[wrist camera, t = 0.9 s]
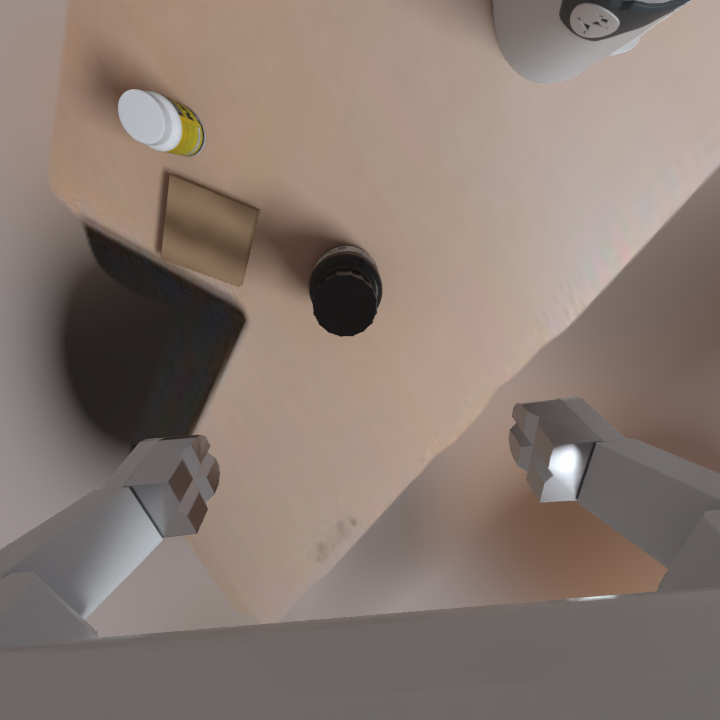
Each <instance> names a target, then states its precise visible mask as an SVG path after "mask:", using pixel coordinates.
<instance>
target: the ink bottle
mask: <svg viewBox="0 0 720 720" xmlns="http://www.w3.org/2000/svg"><path fill="white" fill-rule="evenodd" d="M309 293H310V298H311V301H312V304H313V310H314V312H313V313H314V316H315V317H316V319H317V321H318V322H319V325H320V326H322V327H323V328H324V329H325V330H327V332H329V333H332V334H335V335H338V336H341V337H342V336H354V335H356V334H358V333H360V332H363V331H365V329H366V328H367V327H368V326H369V325H370V324H372V323H373V319H374V317H375V315H376V313H377V308H378V306H379V304H380V302H381V298H382V282H381V278H380V275H379V272H378V269H377V266H376V264H375V262H374V260H373V258H372V257H371V256H370V255H369V254H368V253H367V252H365V251H364V250H362V249H361V248H358V247H355V246H349V245H344V246H338V247H335V248H332V249H330V250H329V251H327V252H326V253H325V254H323V255H322V256H321V258H320V259H319V260H318V262H317V264H316V266H315V268H314V270H313V272H312V275H311V278H310V283H309Z"/></svg>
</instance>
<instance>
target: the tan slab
mask: <svg viewBox="0 0 720 720" xmlns="http://www.w3.org/2000/svg"><path fill="white" fill-rule="evenodd" d="M259 211H260V210H259V209H257V208H255V207H252V206H250V205H247V204H245V203H242V202H240V201H238V200H235V199H233V198H230V197H228V196H225V195H223V194H221V193H218V192H216V191H213V190H211V189H209V188H206V187H204V186H201V185H199V184H196V183H194V182H192V181H189V180H187V179H184V178H182V177H179V176H177V175H170V177H169V187H168V196H167V205H166V215H165V224H164V233H163V242H162V252H161V259H163V260H165V261H168V262H171V263H174V264H177V265H179V266H182V267H185V268H188V269H190V270H193V271H196V272H199V273H202V274H204V275H207V276H210V277H213V278H216V279H218V280H221V281H224V282H227V283H229V284H232V285H235V286H238V287H240V286H241V285H242V284H243V281H244V276H245V272H246V268H247V263H248V259H249V255H250V250H251V246H252V242H253V237H254V233H255V229H256V224H257V220H258V216H259Z"/></svg>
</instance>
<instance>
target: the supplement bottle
mask: <svg viewBox="0 0 720 720" xmlns="http://www.w3.org/2000/svg"><path fill="white" fill-rule="evenodd" d="M118 114H119V118H120V121H121V123H122V125H123V127H124V129H125V130H126V131H127V133H128V134H129V135H130V136H131V137H133V138H134V139H135V140H137V141H139V142H141V143H144V144H145V145H147V146H148V147H150V148H152V149H154V150H157V151H161V152H167V153H172V154H177V155H182V156H195V155H197V154H198V153H200V152H201V151H202V149H203V147H204V145H205V138H206V136H205V130H204V126H203V124H202V122H201V120H200V119H199V117H198V116H197V115H196V114H195V113H194V112H193V111H192V110H191V109H189V108H187V107H186V106H184V105H181V104H179V103H177V102H175V101H173V100H171V99H169V98H167V97H165V96H163V95H161V94H159V93H156V92H152V91H142V90H138V89H131V90H127V91H126V92H124V93H123V94H122V95H121V97H120V99H119V102H118Z"/></svg>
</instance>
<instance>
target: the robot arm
mask: <svg viewBox="0 0 720 720" xmlns="http://www.w3.org/2000/svg"><path fill="white" fill-rule="evenodd" d="M690 1H691V0H493V16H494V25H495V31H496V35H497V39H498V43H499V46H500V49H501V51H502V53H503V55H504V57H505V59H506V61H507V62H508V63H509V65H510V66H511V67H512V68H513V69H514V71H516V72H517V73H518V74H519V75H521V76H522V77H523V78H525V79H527V80H530V81H532V82H536V83H542V84H551V83H558V82H561V81H565V80H567V79H570V78H572V77H574V76H576V75H578V74H580V73H582V72H584V71H585V70H587V69H588V68H590V67H591V66H593V65H594V64H596V63H597V62H599V61H601V60H602V59H604V58H606V57H610V56H614V55H618V54H621V53H624V52H627V51H629V50H631V49H632V48H633V47H635V46H636V44H637V43H638V42H639V40H640V38H641V36H642V34H643V33H645V32H646V31H648V30H649V29H651V28H652V27H654V26H655V25H657V24H658V23H660V22H661V21H662V20H664V19H665V18H667V17H668V16H670V15H671V14H673V13H674V12H675V11H677V10H678V9H679V8H681V7H683V6H684V5H686V4H687V3H688V2H690ZM512 417H513V418H514V420H515V421H516V424H515V425H514V426H513V427H512V428H511V429H510V433H509V444H510V450H511V453H512V456H513V458H514V460H515V462H516V463H517V465H518V466H519V467H521V468H523V469H524V470H526V471H527V472H528V473H527V478H526V480H527V482H528V483H529V485H530V487H531V488H532V490H533V492H534V493H535V495H536V497H537V498H538V500H539V502H554V501H570V500H577V502H578V503H579V504H580V505H582V506H583V507H584V508H586V509H587V510H589V511H590V512H591V513H593V514H594V515H595V516H597V517H598V518H600V519H601V520H602V521H604V522H605V523H606V524H608V525H609V526H610V527H612V528H613V529H614V530H616V531H617V532H619V533H620V534H622V535H623V536H624V537H625V538H627V539H628V540H630V541H631V542H632V543H634V544H635V545H636V546H638V547H639V548H640V549H642V550H643V551H645V552H646V553H648V554H649V555H650V556H651V557H653V558H654V559H656V560H657V561H658V562H660V563H661V564H662V565H664V566H665V567H666V568H668V570H667V572H666V574H665V575H664V577H663V579H662V580H661V582H660V583H659V585H658V589H657V592H645V593H635V594H634V593H633V594H621V595H610V596H597V597H585V598H574V599H561V600H549V601H537V602H525V603H512V604H500V605H488V606H476V607H464V608H451V609H439V610H427V611H415V612H403V613H390V614H378V615H366V616H355V617H343V618H331V619H320V620H307V621H295V622H283V623H271V624H259V625H247V626H235V627H223V628H211V629H199V630H187V631H175V632H163V633H151V634H139V635H127V636H114V637H102V638H98V633H97V631H96V630H95V629H94V628H93V627H92V626H90V624H88V623H87V622H86V621H85V619H86V618H87V617H88V616H89V614H91V613H92V612H93V611H94V610H95V609H96V608H97V607H98V606H99V605H100V604H101V603H102V601H103V600H104V599H106V598H107V596H108V595H109V594H110V593H111V592H112V591H113V590H114V589H115V588H116V587H117V586H118V585H119V584H120V583H121V582H122V581H123V580H124V579H125V578H126V577H127V576H128V575H129V574H130V573H131V572H132V571H133V570H134V569H135V568H136V567H137V566H138V565H139V564H140V563H141V562H142V561H143V560H144V558H145V557H147V555H149V553H151V552H152V550H153V549H154V548H155V547H156V546H157V545H158V544H159V543H160V542H161V541H162V540H163V538H166V537H173V536H182V535H190V534H197V533H198V531H199V528H200V526H201V524H202V522H203V519H204V517H205V515H206V513H207V510H208V508H207V505H206V503H205V502H206V501H207V500H209V499H210V498H211V497H212V496H213V495H214V494H215V492H216V490H217V487H218V485H219V477H220V470H219V465H218V462H217V460H216V458H215V457H213V456H212V455H210V454H209V453H207V452H208V450H209V448H210V444H209V442H208V440H207V438H206V437H205V436H203V435H191V436H178V437H165V438H156V439H146V440H144V441H142V442H140V443H139V444H138V445H137V446H136V447H135V449H134V450H133V451H132V452H131V453H130V455H129V456H128V457H127V458H126V459H125V461H124V462H123V463H122V464H121V466H120V467H119V468H118V469H117V470H116V472H115V473H114V474H113V475H112V476H111V478H110V479H109V480H108V481H107V482H106V484H105V485H104V486H103V487H102V489H101V490H94V491H92V492H91V493H89V494H88V495H86V496H84V497H83V498H81V499H80V500H78V501H77V502H75V503H74V504H72V505H70V506H69V507H68V508H66V509H64V510H62V511H61V512H59V513H58V514H56V515H55V516H53V517H51V518H50V519H48V520H47V521H45V522H44V523H42V524H41V525H39V526H37V527H36V528H34V529H33V530H31V531H29V532H28V533H26V534H25V535H23V536H22V537H20V538H18V539H17V540H15V541H14V542H12V543H10V544H9V545H7V546H6V547H4V548H3V549H1V550H0V720H720V474H719V473H716V472H714V471H711V470H709V469H707V468H704V467H702V466H699V465H697V464H694V463H692V462H690V461H687V460H685V459H682V458H680V457H677V456H675V455H673V454H670V453H668V452H665V451H663V450H660V449H658V448H655V447H653V446H651V445H648V444H646V443H643V442H641V441H639V440H636V439H626V438H625V437H624V436H623V435H622V434H621V433H620V432H619V431H618V430H616V429H615V428H614V427H613V426H612V425H611V424H610V423H609V422H608V421H607V420H605V419H604V418H603V417H602V416H601V415H600V414H599V413H598V412H597V411H596V410H595V409H593V408H592V407H591V406H590V405H589V404H588V403H587V402H586V401H585V400H584V399H582V398H580V397H577V396H574V397H566V398H558V399H555V400H544V401H535V402H525V403H516V405H515V406H514V408H513V413H512Z"/></svg>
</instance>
